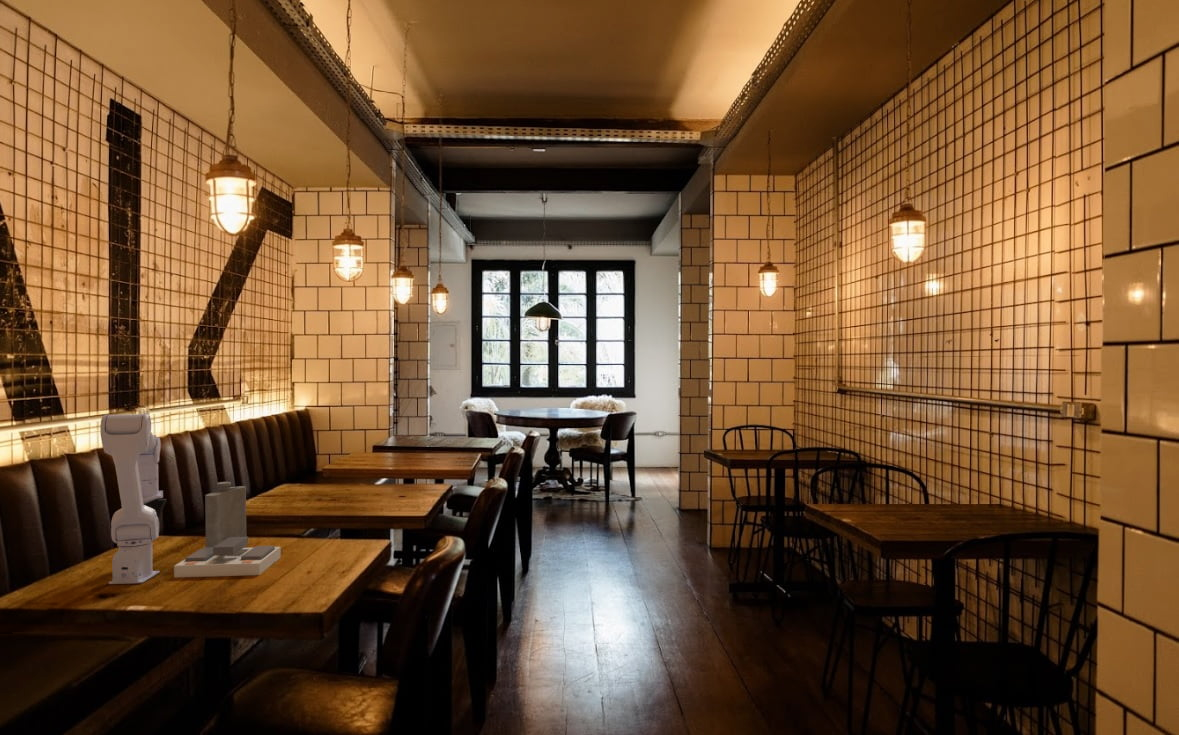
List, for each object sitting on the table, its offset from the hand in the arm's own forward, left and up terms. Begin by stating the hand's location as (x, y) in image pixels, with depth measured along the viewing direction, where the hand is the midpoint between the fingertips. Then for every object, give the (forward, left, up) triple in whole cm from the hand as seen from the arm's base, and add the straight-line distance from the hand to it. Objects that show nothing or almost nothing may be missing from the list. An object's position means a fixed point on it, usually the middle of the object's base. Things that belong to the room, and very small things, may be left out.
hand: (146, 529), depth 204 cm
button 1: (-5, -17, -8) cm, 19 cm away
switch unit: (-5, -24, -9) cm, 26 cm away
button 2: (-5, -31, -8) cm, 32 cm away
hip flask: (+12, -16, -10) cm, 22 cm away
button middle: (-5, -24, -5) cm, 25 cm away
